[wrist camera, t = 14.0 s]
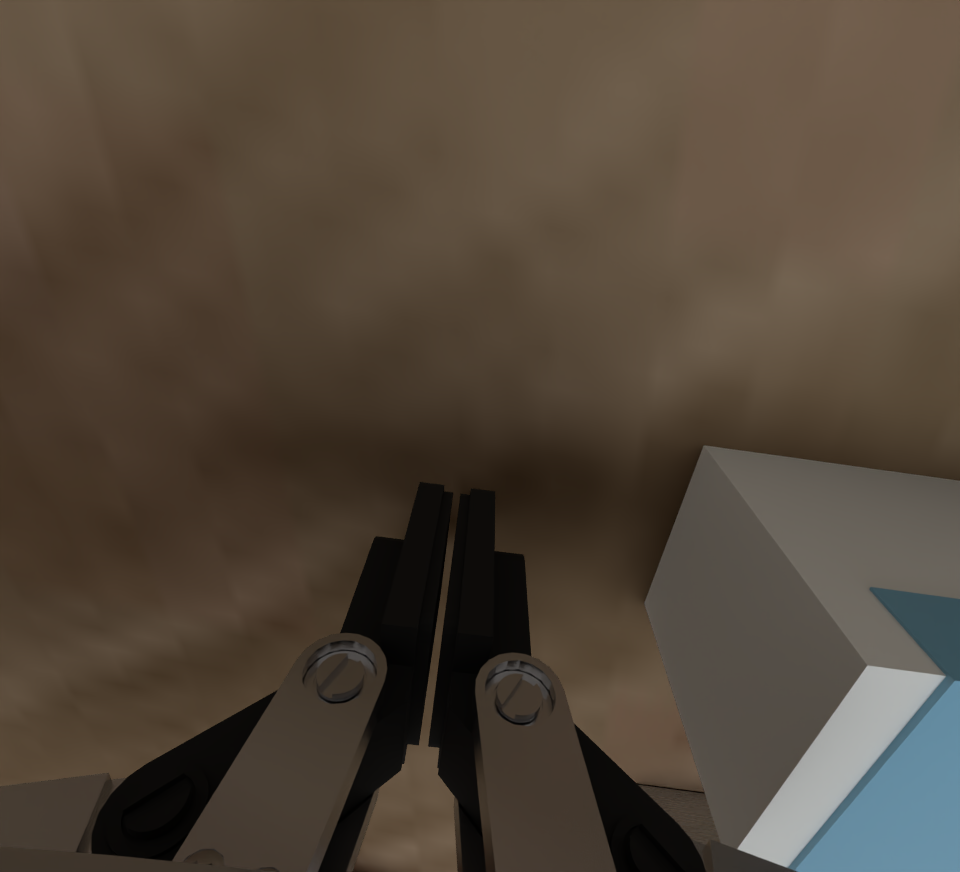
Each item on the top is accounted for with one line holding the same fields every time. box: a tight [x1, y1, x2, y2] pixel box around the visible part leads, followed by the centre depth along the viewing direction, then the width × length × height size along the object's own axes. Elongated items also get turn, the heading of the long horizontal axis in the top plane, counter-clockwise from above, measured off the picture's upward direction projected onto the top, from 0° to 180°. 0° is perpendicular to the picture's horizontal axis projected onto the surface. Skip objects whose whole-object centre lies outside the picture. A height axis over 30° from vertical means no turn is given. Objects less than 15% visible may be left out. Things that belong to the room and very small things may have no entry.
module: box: [644, 445, 960, 872], centre depth 10 cm, size 8×5×6 cm, turn 83°
